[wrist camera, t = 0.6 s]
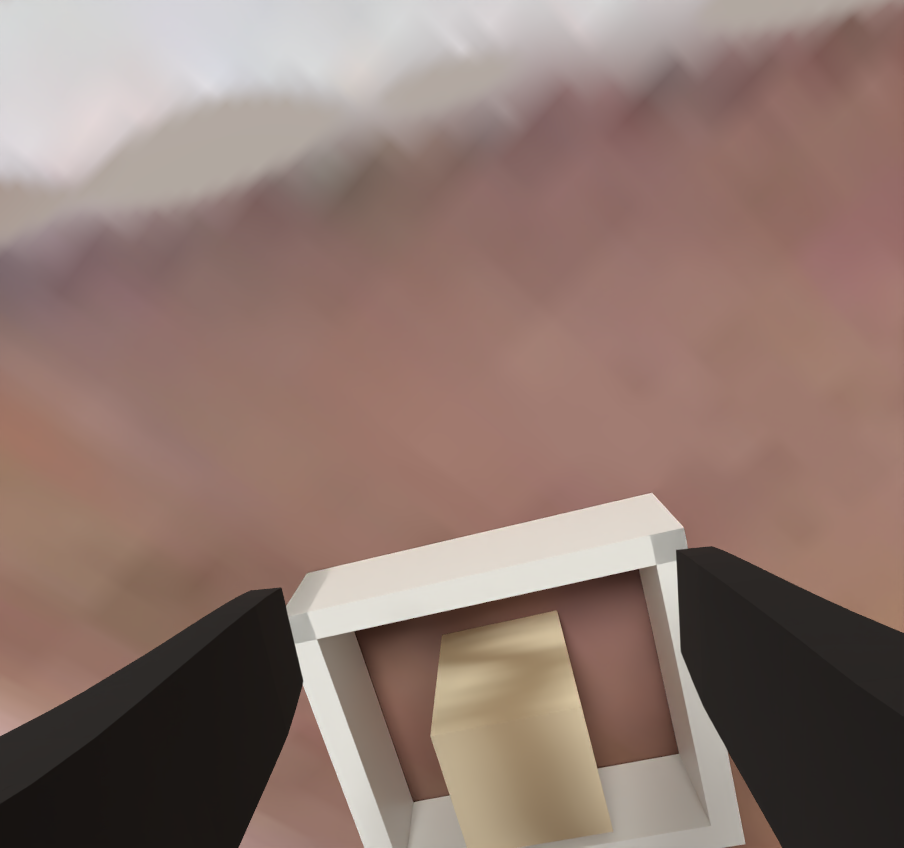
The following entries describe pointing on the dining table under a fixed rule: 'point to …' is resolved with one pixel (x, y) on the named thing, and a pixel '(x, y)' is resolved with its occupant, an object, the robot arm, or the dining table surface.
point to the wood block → (515, 736)
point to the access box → (487, 579)
